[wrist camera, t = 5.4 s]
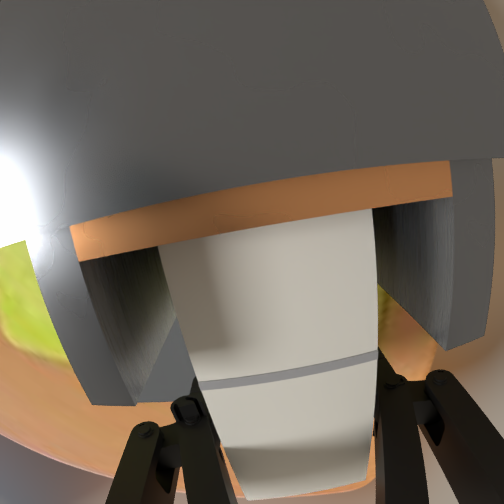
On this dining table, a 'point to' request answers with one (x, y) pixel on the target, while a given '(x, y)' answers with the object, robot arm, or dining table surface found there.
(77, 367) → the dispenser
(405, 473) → the robot arm
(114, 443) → the dining table surface
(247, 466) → the white rectangular block
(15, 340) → the dining table surface
